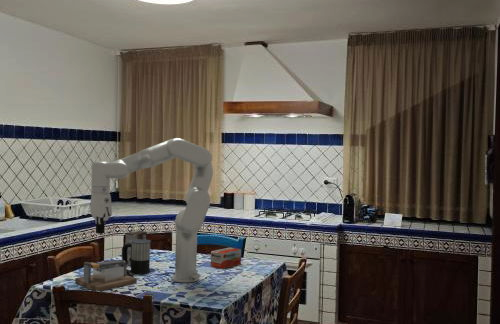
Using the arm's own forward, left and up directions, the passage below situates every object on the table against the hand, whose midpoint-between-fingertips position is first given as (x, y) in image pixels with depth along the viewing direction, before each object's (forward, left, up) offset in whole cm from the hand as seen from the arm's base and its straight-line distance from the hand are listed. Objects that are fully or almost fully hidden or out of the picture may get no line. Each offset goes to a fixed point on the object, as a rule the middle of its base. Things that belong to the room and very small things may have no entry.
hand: (100, 233), depth 211 cm
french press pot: (+21, -33, -22) cm, 45 cm away
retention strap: (0, -4, -14) cm, 15 cm away
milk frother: (+5, -21, -23) cm, 32 cm away
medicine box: (-11, -65, -23) cm, 70 cm away
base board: (0, -3, -22) cm, 22 cm away
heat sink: (0, -3, -20) cm, 20 cm away
